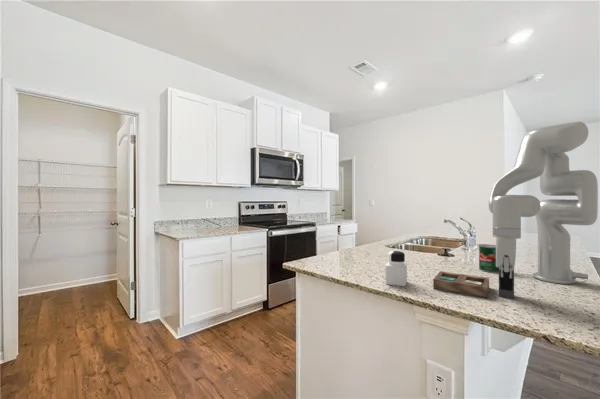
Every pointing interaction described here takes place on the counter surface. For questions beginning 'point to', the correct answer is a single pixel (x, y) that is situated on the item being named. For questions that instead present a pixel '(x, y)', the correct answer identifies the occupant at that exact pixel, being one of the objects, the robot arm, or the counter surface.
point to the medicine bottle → (396, 269)
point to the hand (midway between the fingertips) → (506, 287)
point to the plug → (506, 292)
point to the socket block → (462, 284)
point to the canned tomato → (487, 258)
